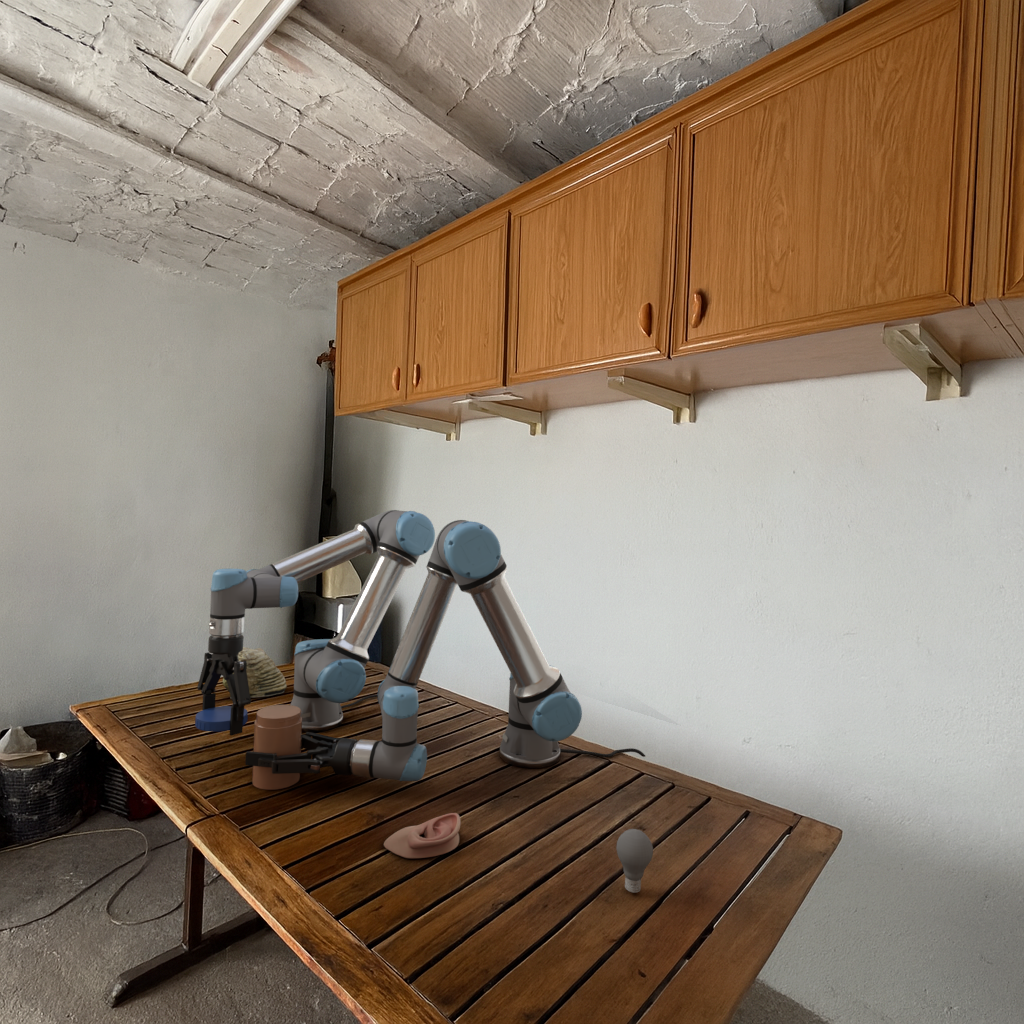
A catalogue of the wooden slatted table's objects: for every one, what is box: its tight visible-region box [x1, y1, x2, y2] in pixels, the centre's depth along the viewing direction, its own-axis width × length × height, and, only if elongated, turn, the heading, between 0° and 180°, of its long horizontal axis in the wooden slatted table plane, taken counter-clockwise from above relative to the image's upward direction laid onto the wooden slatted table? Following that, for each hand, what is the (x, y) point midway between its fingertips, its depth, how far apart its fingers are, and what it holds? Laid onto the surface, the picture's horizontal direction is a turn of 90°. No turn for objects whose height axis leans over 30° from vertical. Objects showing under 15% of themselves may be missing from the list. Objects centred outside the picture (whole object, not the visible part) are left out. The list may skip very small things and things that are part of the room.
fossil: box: [222, 646, 288, 699], centre depth 198 cm, size 9×18×15 cm, turn 132°
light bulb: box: [615, 828, 654, 894], centre depth 106 cm, size 6×6×10 cm
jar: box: [251, 704, 303, 791], centre depth 141 cm, size 10×10×15 cm
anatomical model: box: [383, 812, 462, 859], centre depth 117 cm, size 13×4×12 cm
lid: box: [194, 705, 249, 733], centre depth 149 cm, size 11×11×2 cm
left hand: (221, 727), depth 149 cm, fingers closed on lid, 11 cm apart
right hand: (259, 748), depth 141 cm, fingers closed on jar, 10 cm apart
